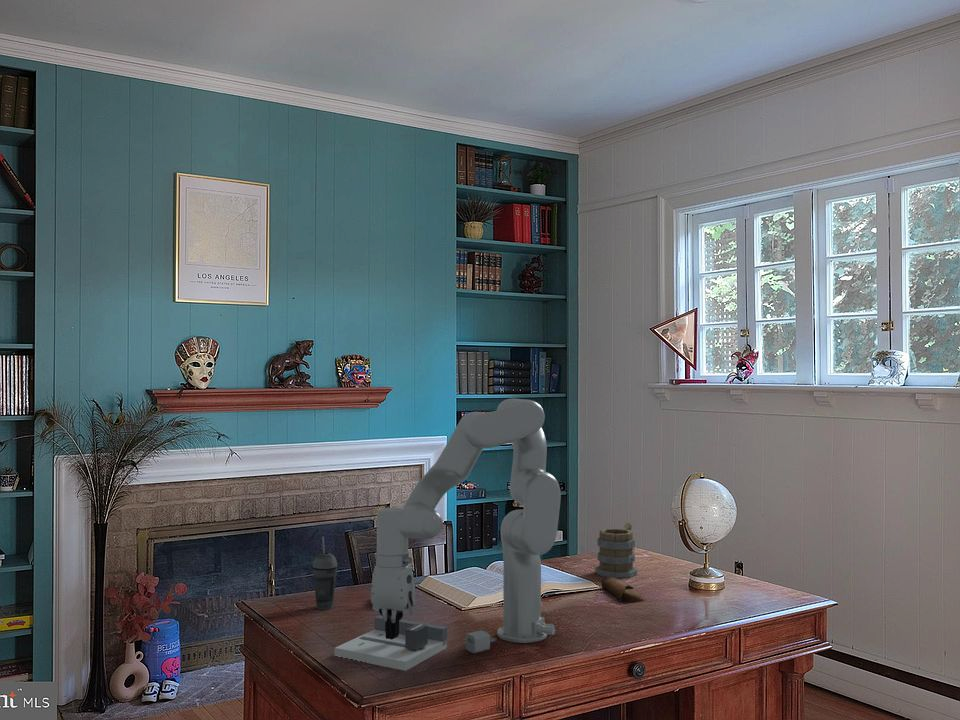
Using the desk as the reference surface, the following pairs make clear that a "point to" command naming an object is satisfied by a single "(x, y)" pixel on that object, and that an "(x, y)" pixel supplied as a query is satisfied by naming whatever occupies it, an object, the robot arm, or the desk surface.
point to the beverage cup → (324, 579)
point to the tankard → (616, 553)
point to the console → (393, 646)
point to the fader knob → (416, 636)
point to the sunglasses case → (622, 590)
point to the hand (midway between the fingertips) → (392, 637)
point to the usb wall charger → (478, 641)
